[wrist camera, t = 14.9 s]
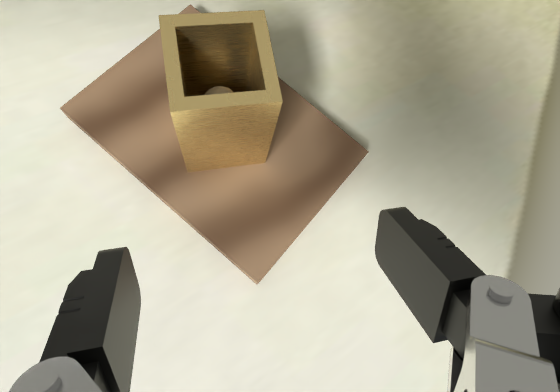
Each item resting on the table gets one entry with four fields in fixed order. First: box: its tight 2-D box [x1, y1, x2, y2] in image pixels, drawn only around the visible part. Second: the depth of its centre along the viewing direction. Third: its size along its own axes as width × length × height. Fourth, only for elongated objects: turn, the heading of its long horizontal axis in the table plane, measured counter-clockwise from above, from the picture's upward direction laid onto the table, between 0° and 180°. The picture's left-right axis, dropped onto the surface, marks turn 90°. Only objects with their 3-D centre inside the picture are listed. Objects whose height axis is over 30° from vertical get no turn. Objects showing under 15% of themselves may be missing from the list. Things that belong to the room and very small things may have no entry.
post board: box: [60, 5, 369, 284], centre depth 28 cm, size 20×14×7 cm
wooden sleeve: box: [159, 10, 283, 172], centre depth 25 cm, size 6×6×10 cm
